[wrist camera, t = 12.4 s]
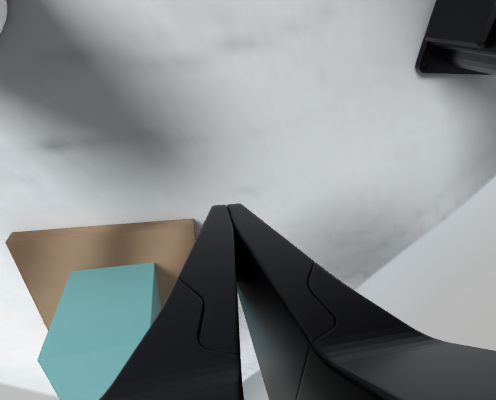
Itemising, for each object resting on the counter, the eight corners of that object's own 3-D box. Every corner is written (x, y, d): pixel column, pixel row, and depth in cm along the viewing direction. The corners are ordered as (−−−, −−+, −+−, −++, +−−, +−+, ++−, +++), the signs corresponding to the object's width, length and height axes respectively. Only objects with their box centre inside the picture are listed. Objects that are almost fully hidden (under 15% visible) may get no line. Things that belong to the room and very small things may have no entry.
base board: (193, 218, 23) (194, 226, 22) (197, 319, 29) (198, 328, 28) (12, 232, 20) (5, 242, 19) (60, 339, 27) (57, 349, 26)
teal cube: (154, 262, 23) (149, 342, 17) (161, 311, 26) (159, 392, 21) (70, 271, 22) (37, 360, 16) (89, 321, 25) (66, 410, 19)
